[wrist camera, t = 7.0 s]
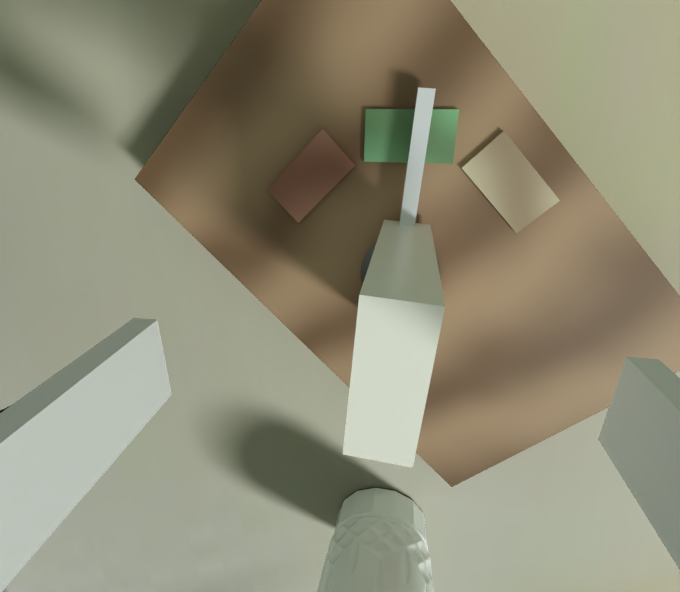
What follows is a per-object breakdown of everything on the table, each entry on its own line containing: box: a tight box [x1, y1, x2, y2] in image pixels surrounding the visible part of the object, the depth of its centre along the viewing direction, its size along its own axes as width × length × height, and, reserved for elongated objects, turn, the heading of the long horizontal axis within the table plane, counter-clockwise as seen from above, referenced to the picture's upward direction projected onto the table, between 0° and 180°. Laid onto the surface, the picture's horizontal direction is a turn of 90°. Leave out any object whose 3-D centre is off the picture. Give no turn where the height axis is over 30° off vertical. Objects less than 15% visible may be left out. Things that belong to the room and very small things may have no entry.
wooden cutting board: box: [135, 0, 680, 487], centre depth 21 cm, size 26×16×3 cm, turn 44°
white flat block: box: [343, 87, 445, 468], centre depth 14 cm, size 2×11×10 cm, turn 175°
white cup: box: [317, 488, 434, 592], centre depth 26 cm, size 8×8×10 cm
